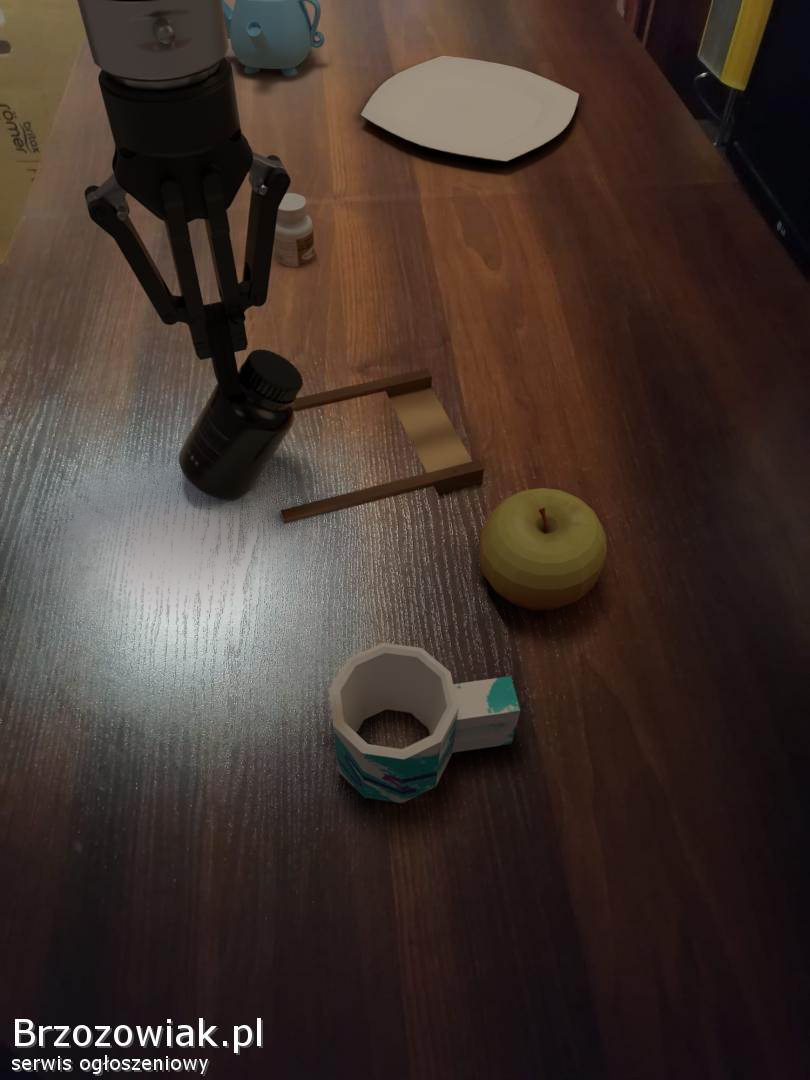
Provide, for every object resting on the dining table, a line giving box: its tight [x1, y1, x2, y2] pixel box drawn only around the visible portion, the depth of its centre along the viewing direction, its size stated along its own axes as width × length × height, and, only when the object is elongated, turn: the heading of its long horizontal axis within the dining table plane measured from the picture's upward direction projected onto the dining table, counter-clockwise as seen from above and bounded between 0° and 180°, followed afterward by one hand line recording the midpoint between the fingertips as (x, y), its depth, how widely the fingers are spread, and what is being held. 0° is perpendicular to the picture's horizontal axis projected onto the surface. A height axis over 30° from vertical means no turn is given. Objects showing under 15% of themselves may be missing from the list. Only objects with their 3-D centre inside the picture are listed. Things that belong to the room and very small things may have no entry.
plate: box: [360, 55, 580, 163], centre depth 118 cm, size 27×27×2 cm
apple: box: [478, 487, 608, 611], centre depth 67 cm, size 10×10×8 cm
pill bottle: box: [273, 192, 316, 268], centre depth 93 cm, size 4×4×8 cm
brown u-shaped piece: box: [280, 368, 485, 524], centre depth 78 cm, size 14×18×2 cm
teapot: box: [222, 0, 325, 77], centre depth 124 cm, size 15×14×11 cm
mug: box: [328, 642, 521, 804], centre depth 57 cm, size 8×12×8 cm
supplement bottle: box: [178, 348, 304, 501], centre depth 71 cm, size 7×7×12 cm
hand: (228, 383), depth 67 cm, fingers closed
